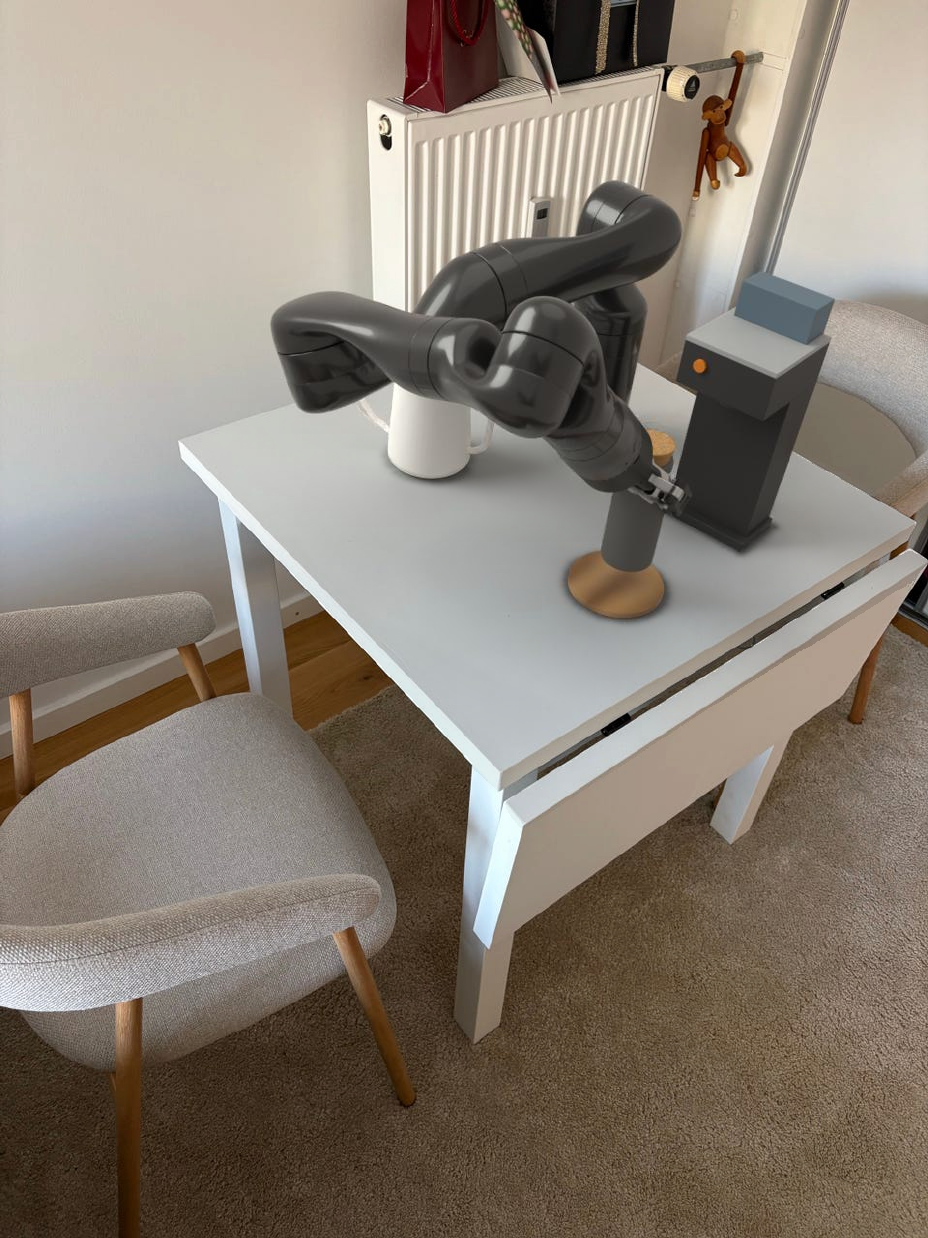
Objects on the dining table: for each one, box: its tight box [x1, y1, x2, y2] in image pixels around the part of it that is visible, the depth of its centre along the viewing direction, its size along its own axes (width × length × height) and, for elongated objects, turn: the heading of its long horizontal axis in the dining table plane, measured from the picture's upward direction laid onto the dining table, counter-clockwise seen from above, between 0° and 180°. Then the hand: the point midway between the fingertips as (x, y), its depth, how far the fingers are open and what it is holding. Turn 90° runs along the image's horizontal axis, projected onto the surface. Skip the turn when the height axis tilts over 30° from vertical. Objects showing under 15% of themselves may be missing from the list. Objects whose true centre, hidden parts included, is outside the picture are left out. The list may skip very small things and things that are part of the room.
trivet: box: [567, 550, 665, 619], centre depth 113 cm, size 11×11×1 cm
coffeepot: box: [353, 383, 495, 479], centre depth 124 cm, size 11×25×19 cm, turn 71°
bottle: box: [600, 429, 677, 572], centre depth 105 cm, size 6×6×15 cm
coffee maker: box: [671, 270, 836, 552], centre depth 113 cm, size 12×12×30 cm
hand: (648, 493), depth 106 cm, fingers closed on bottle, 6 cm apart
